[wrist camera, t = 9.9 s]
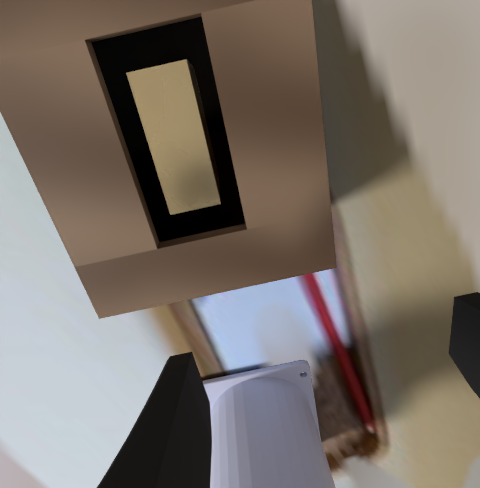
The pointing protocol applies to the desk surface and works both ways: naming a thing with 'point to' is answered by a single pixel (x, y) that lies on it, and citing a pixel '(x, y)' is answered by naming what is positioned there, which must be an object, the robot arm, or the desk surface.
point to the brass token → (177, 134)
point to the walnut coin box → (120, 164)
